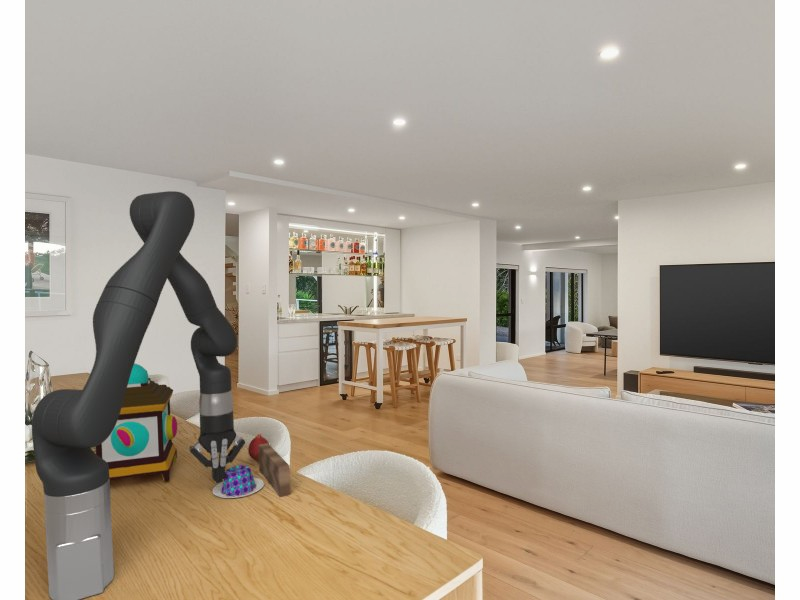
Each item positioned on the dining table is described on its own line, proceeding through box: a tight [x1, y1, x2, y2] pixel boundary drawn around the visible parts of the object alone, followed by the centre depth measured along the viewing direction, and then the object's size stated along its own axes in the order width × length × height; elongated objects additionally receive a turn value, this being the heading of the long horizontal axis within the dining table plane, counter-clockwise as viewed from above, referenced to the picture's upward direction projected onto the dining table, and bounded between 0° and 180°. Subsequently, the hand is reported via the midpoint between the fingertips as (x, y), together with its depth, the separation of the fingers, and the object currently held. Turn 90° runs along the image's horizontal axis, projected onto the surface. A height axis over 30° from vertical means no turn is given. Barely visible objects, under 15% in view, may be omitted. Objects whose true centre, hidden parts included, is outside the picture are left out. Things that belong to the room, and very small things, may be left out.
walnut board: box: [258, 442, 291, 498], centre depth 123 cm, size 19×2×7 cm, turn 30°
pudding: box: [212, 464, 265, 499], centre depth 119 cm, size 12×12×5 cm
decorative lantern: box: [95, 363, 178, 484], centre depth 128 cm, size 20×20×30 cm
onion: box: [247, 433, 270, 462], centre depth 137 cm, size 6×6×8 cm
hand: (219, 481), depth 116 cm, fingers closed
